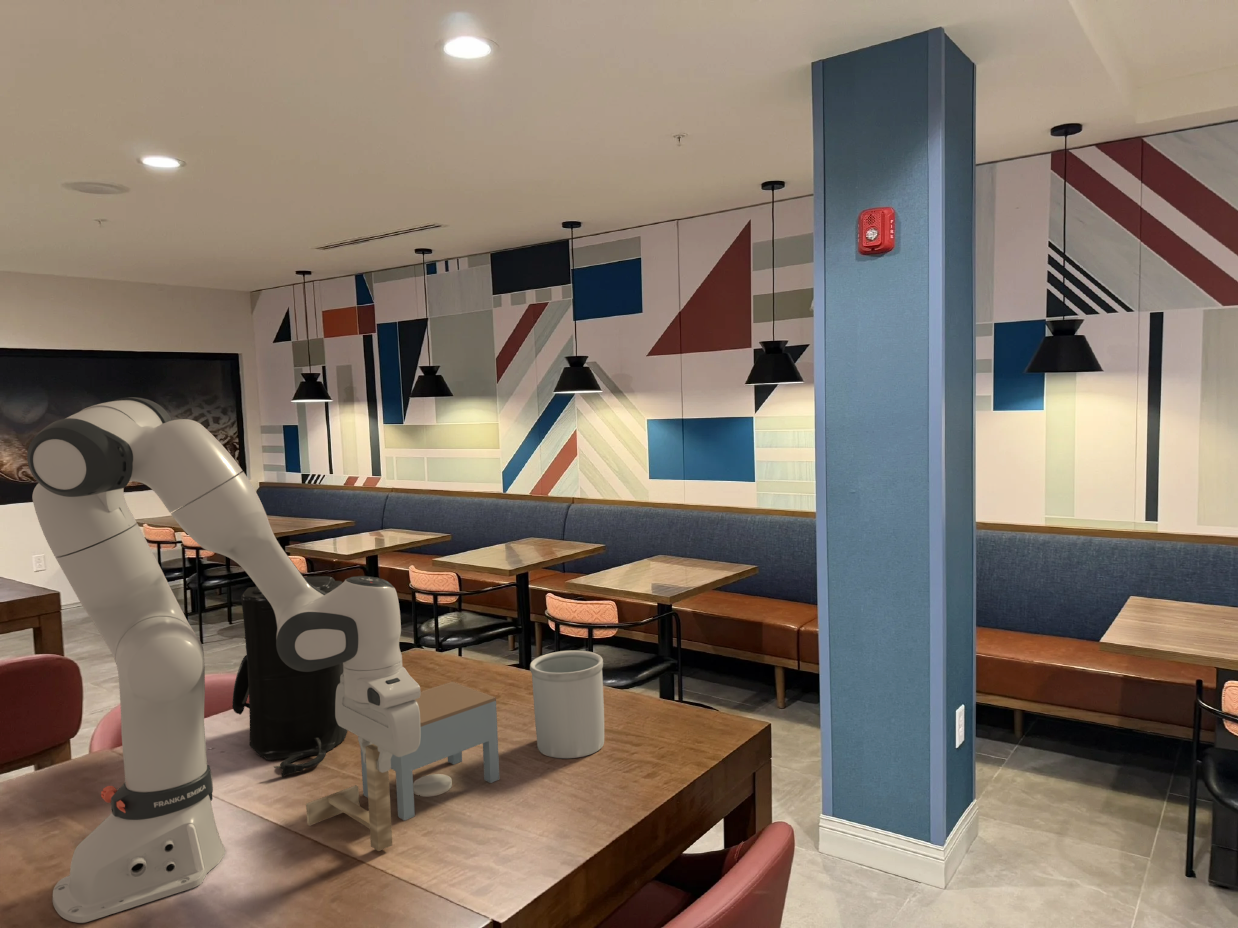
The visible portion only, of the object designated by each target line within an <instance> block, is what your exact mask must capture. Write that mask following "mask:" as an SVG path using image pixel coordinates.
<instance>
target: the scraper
mask: <svg viewBox="0 0 1238 928" xmlns="http://www.w3.org/2000/svg"><path fill="white" fill-rule="evenodd" d="M365 750H366V768H367V786H368V798H367V801H368V810H366V808H363V807H361V806H360V795H359V794H360V793H359V786H358V785H356V784H355V785H353V786H351V787H347V788H345V789H342V790H339V791H336V792H333V793H331V794H328V795H326V796H323V797H320V798H317V799H315V800H312V801H310V802H306V804H305V807H306V808H305V809H306V824H307V825H308V826H312V825H314V824H317V823H320V822H322V821H325V820H328V819H330V818H333V817H335V816H337V815H340V814H342V813H344V814H345V815H348V816H349V817H350V818H352V819H353V820H355V821H357V822H358V823H360V824H361V825H363V826H365V827H366V828H368V829H369V838H370V847H372V848H373V849H374V850H376V851H377V852H380V851H382V850H386V849H388V848H389V847H391V846H393V830H392V829H393V828H392V814H391V813H392V811H391V797H390V794H391V793H390V792H391V791H390V775H389V771H386V772H384V773H382V772H380V771H378V770H377V769H376V761H375V760H376V759H379V754H380V752H378V746H376V745H374V744H371V745H368V746H365Z"/></svg>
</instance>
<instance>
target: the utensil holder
mask: <svg viewBox="0 0 1238 928" xmlns="http://www.w3.org/2000/svg"><path fill="white" fill-rule="evenodd" d="M603 667H604V659H603V657H602V656H601V655H600V654H597V653H595V652H592V651H588V650H587V651H586V650H560V651H555V652H550V653H546V654H543V655H540V656H537V657H536V658H534V659H533V660H532V661H531V662H530V664H529V671H530V673H531V680H532V681H531V682H532V695H533V697H532V698H533V710H534V721H535V735H536V745H537V749H538V751H539V752H540V753H541V755H545V756H546V757H550V758H556V759H576V758H582V757H587V756H590V755H592V754H595V753H596V752H598V751H600V749H602V748H603V746H604V744H605V705H604V703H605V702H604V682H603V681H604V677H603Z"/></svg>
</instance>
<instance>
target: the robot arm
mask: <svg viewBox="0 0 1238 928" xmlns="http://www.w3.org/2000/svg"><path fill="white" fill-rule="evenodd" d="M26 458H27V461H26V462H27V464H28V465H27V466H28V468H29V471H30V474H31V475H32V476H33V478H34V479H35V481H36V482H37V483H36V486H35V487H34V489H33V492H32V498H31V499H32V502H33V503H32V504H33V507H34V511H35V514H36V517H37V520H38V522H39V526H40V529H41V531H42V533H43V535H44V536H43V537H44V538H45V540H46V543H47V545H48V547H49V548H50V550H51V552H52V554H53V556H54V557H55V559H56V562H57V563H58V564H59V567H60V568H61V570H62V572H63V574H64V576H65V577H66V579H67V581H68V583H69V584H70V586H71V588H72V590H73V591H74V594H75V595H76V597H77V598H78V601H79V602H80V604H81V606H82V607H83V609H84V610H85V612H86V613H87V615H88V616H89V619H91V621H92V622H93V624H94V626H95V628H96V629H97V631H98V632H99V634H100V636H101V637H102V640H103V641H104V643H105V644H106V646H107V647H108V649H109V651H110V653H111V655H112V657H113V658H114V661H115V662H114V663H115V665H116V668H117V675H118V686H119V687H118V690H119V701H120V722H121V723H120V724H121V726H120V727H121V743H122V757H123V769H124V783H123V784H122V785H121V786H120V787H119V789H116V787H114V785H107V786H105V787H104V788H102V790H101V792H100V796H101V799H103V801H104V802H106V803H107V804H109V803H110V808H111V813H110V814H109V815H108V816H107V817H106V818H105V819H104V820H103V821H102V822H101V823H100V824H99V825H97V827H96V828H95V829H93V830H92V831H91V832H90V833H89V834H88V835H87V836H86V837H85V838H84V839H83V840H82V841H80V842H79V844H78V845H77V846H76V848H75V849H74V852H73V855H72V857H71V862H70V869H69V870H70V871H69V875H67V876H65V877H62V878H61V879H60V880H58V882H57V883H56V884H55V885H54V887H53V889H52V905H53V908H54V909H55V911H56V912H57V915H59V916H60V917H61V918H63V919H64V920H66V921H68V922H73V923H78V924H85V923H88V922H92V921H95V920H98V919H101V918H105V917H107V916H109V915H112V914H116V913H120V912H122V911H125V910H129V909H132V908H135V907H139V906H141V905H145V904H147V903H151V902H154V901H157V900H160V899H163V898H167V897H169V896H173V895H175V894H179V893H182V892H184V891H188V890H191V889H193V888H196V887H198V886H200V885H201V884H202V883H203V881H205V877H206V876H207V874H208V873H209V872H210V871H211V870H212V869H214V868H215V867H216V866H217V865H218V864H219V863H220V862H221V861H222V859H223V858H224V856H225V852H226V849H225V848H226V847H225V845H224V843H223V842H222V839H221V836H220V833H219V831H218V828H217V823H216V820H215V816H214V815H215V813H214V812H213V805H212V801H213V793H214V784H213V774H212V772H211V766H210V765H209V764H208V760H207V758H208V757H207V745H206V744H207V743H206V731H205V730H206V727H205V694H206V693H205V692H206V678H205V675H206V672H205V670H206V668H205V667H206V666H205V651H204V647H203V644H202V642H201V640H200V639H199V637H198V635H197V634H196V632H195V631H194V629H193V628H192V626H191V625H190V622H189V621H188V619H187V618H186V615H185V614H184V612H183V610H182V608H181V606H180V604H179V602H178V600H177V598H176V596H175V593H174V592H173V589H171V586H170V584H169V582H168V580H167V578H166V576H165V574H164V572H163V570H162V568H161V566H160V564H159V562H158V560H157V558H156V557H155V554H154V552H153V551H152V549H151V547H150V545H149V543H148V542H147V539H146V537H145V535H144V534H143V532H142V530H141V528H140V526H139V524H138V522H137V520H136V518H135V517H134V515H133V512H132V511H131V510H130V508H129V506H128V504H127V501H126V498H125V494H124V489H125V488H126V487H127V486H128V484H129V483H130V482H136V483H141V484H143V485H145V486H147V487H148V488H150V489H151V490H152V491H153V492H154V493H155V495H157V497H158V498H159V499H160V501H161V502H162V504H163V505H164V507H165V508H166V509H167V511H168V512H169V513H170V515H171V517H172V518H173V519H174V520H175V522H176V523H177V524H178V526H180V528H181V529H182V530H183V531H184V532H185V533H186V535H188V536H189V537H190V538H191V539H192V540H193V541H194V542H195V543H196V544H198V545H199V546H200V547H201V548H202V549H203V550H206V551H209V552H212V553H216V554H220V555H222V556H224V557H227V558H229V559H231V560H232V561H234V562H235V563H236V564H238V565H239V566H240V567H241V568H242V569H243V570H244V572H245V573H246V574H247V575H248V576H249V578H250V579H251V580H252V582H253V583H254V584H255V587H258V588H259V589H260V591H261V592H262V593H263V595H264V596H265V597H266V599H267V600H268V601H269V603H270V604H271V606H272V608H273V610H274V613H275V617H276V625H277V637H276V647H277V652H278V654H279V656H280V658H281V660H282V661H283V662H284V663H285V664H286V665H287V666H289V667H290V668H292V669H295V670H298V671H303V672H311V671H316V670H320V669H324V668H328V667H331V666H335V665H338V664H341V663H343V673H342V675H341V676H340V683H339V684H338V686H337V689H336V702H335V717H336V721H337V724H338V725H339V726H340V727H342V728H344V729H346V730H347V732H350V733H352V734H354V735H356V736H357V741H358V744H359V747H360V751H361V750H362V752H363V762H364V763H366V750H365V746H368V745H371V744H374V745H376V746H378V752H380V754H379V759H376V760H375V761H376V769H377V770H378V771H380V772H382V773H384V772H386V771H388V772H389V771H390V770H392V769H391V757H392V755H395V756H397V757H401V756H404V755H407V754H410V753H413V752H415V751H416V750H417V749H418V747H419V745H420V737H421V728H420V710H419V706H418V703H417V702H416V700H415V699H417V698H419V697H420V691H421V686H420V684H419V683H418V682H417V681H416V680H415V679H414V677H412V676H411V675H410V673H409V672H408V670H407V669H406V668H405V667H404V666H403V655H402V652H401V649H400V638H401V634H402V633H401V632H402V625H401V622H402V621H401V610H400V603H399V598H398V597H399V596H398V593H397V590H396V588H395V587H394V585H392V583H390V582H389V581H388V580H385V579H383V578H379V577H374V576H368V575H358V576H351V577H348V578H346V579H344V581H342V584H341V585H340V586H338V587H337V588H335V589H334V590H332V591H331V592H329V593H325V592H324V591H322V590H320V589H318V588H316V587H314V586H313V585H311V584H310V583H309V582H308V581H307V580H306V579H305V578H304V577H305V576H303V574H302V572H301V571H300V570H299V568H297V566H296V565H295V563H294V561H292V559H291V558H290V557H289V555H288V554H287V553H286V551H285V550H284V549H283V547H282V546H281V544H280V543H279V541H278V540H277V538H276V536H275V534H274V532H273V529H272V527H271V524H270V521H269V518H268V515H267V512H266V510H265V508H264V505H263V504H262V503H263V502H261V500H260V497H259V495H258V493H257V491H256V489H255V487H254V486H253V484H252V482H251V481H250V479H249V477H248V476H247V474H246V473H245V471H243V469H242V468H241V466H240V464H238V462H237V461H236V460H235V458H234V457H233V456H232V455H231V453H230V452H229V451H228V450H227V449H226V448H225V446H224V445H223V444H222V443H221V442H220V441H219V440H218V439H217V438H216V437H215V436H214V435H213V434H212V433H211V432H210V431H209V430H208V429H207V428H206V427H204V425H203V424H201V423H200V422H198V421H196V420H193V419H187V418H184V419H183V418H181V419H174V420H172V418H171V416H170V415H169V412H167V410H165V409H164V407H162V406H161V405H160V404H158V403H156V402H154V401H153V400H150V399H147V398H143V397H132V396H131V397H130V396H129V397H121V398H116V399H113V400H112V401H107V402H102V403H98V404H94V405H91V406H88V407H86V408H83V409H81V410H80V411H78V412H75V413H74V414H72V415H69V416H68V417H66V418H61V419H57V420H56V421H53V422H51V423H50V424H48V425H47V426H45V427H44V428H43V429H41V430H40V431H38V433H37V434H36V435H35V436H34V437H33V438H32V439H31V441H30V443H29V446H28V448H27V454H26Z"/></svg>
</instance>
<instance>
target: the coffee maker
mask: <svg viewBox="0 0 1238 928" xmlns="http://www.w3.org/2000/svg"><path fill="white" fill-rule="evenodd" d="M303 577H304V578H305V579H306V580H307V581H308V582H309V583H310V584H311V585H313V586H314V587H316V588H318V589H320V590H322V591H324V592H325V593H329V592H331V591H332V590H334V589H335V588H337V587H338V586H340V585H341V584H342V583H343V581H342V580H335V578H333V577H331V576H327V575H323V576H322V575H321V576H318V575H317V576H303ZM240 601H241V607H242V608H241V609H242V617H243V627H244V639H245V640H244V641H245V650H246V651H245V653H246V654H245V655H244V656H243V658H242V660H241V663H240V664H239V667H238V670H237V673H236V677H235V681H234V685H233V691H232V692H233V693H232V702H231V703H232V710H233V712H234V713H235V714H238V715H242V714H243V713H244V711H245V708H247V709H249V710H248V711H249V713H248V714H249V716H248V717H249V746H250V748H251V749H252V750H253V751H254V752H255V753H256V754H258V755H259V757H261V758H265V760H266V761H272V760H273V761H274V760H282V761H281V762H280V763H279V765H274V766H273V768H274V769H279V770H281V773H280V775H281V778H285V776H288V775H293V774H295V773H298V772H303V771H304V770H306V769H309V768H314V767H315V766H317V765H319V764H321V763H322V762H323V761H324V759H325V757H326V756H327V752H329V751H332V750H334V749H335V747H336V746H338V745H340V744H341V742H344V741H345V739H346V737H347V734H348V730H346V729H344V728H342V727H340V726H339V725H338V724H337V721H336V717H335V702H336V689H337V686H338V684H339V683H340V676H341V675H342V673H343V663H341V664H338V665H335V666H331V667H328V668H324V669H320V670H316V671H311V672H303V671H298V670H295V669H292V668H290V667H289V666H287V665H286V664H285V663H284V662H283V661H282V660H281V658H280V656H279V654H278V652H277V647H276V637H277V625H276V617H275V613H274V610H273V608H272V606H271V604H270V603H269V601H268V600H267V599H266V597H265V596H264V595H263V593H262V592H261V591H260V589H259V588H258V587H257V586H252V587H251V586H250V587H248V588H247V589H246V590H245V591H244V592H243V593H242V594H241V598H240ZM247 701H248V702H247ZM309 756H315V757H314V758H313V759H311V760H310V761H307V762H303V763H300V764H299V763H298V764H296V763H293V762H295V761H297V760H300V759H304V758H306V757H309Z"/></svg>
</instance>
